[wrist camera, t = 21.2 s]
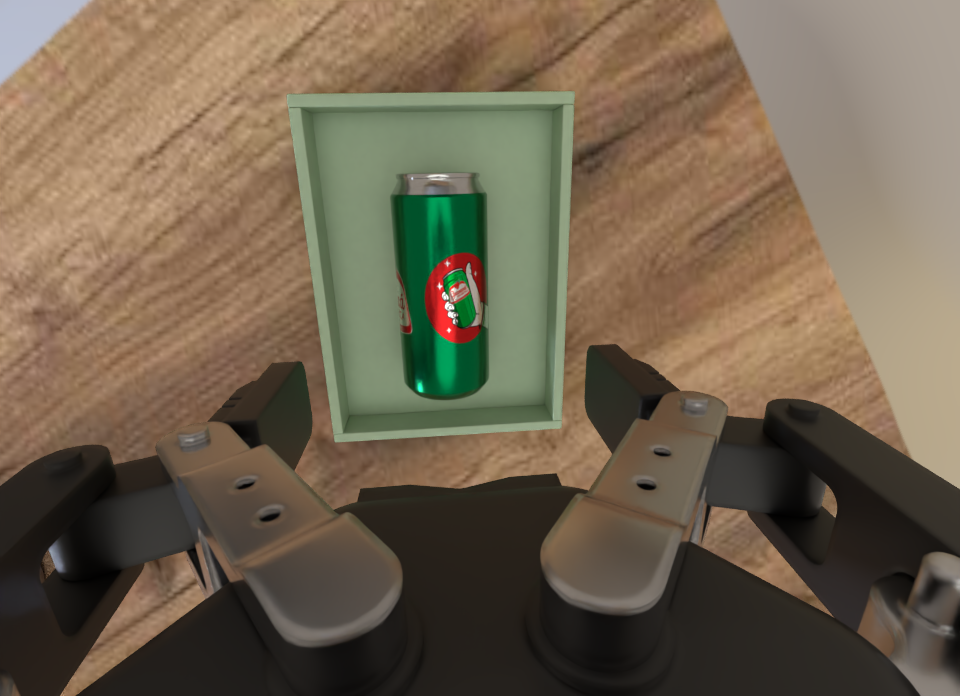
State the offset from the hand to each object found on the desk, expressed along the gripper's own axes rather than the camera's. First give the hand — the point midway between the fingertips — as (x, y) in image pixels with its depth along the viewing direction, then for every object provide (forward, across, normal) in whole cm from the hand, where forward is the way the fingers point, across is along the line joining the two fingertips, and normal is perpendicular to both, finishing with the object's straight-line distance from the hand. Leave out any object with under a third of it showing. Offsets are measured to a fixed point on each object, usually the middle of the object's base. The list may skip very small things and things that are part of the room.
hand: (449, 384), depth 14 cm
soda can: (+14, 0, +6) cm, 15 cm away
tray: (+17, 0, 0) cm, 17 cm away
